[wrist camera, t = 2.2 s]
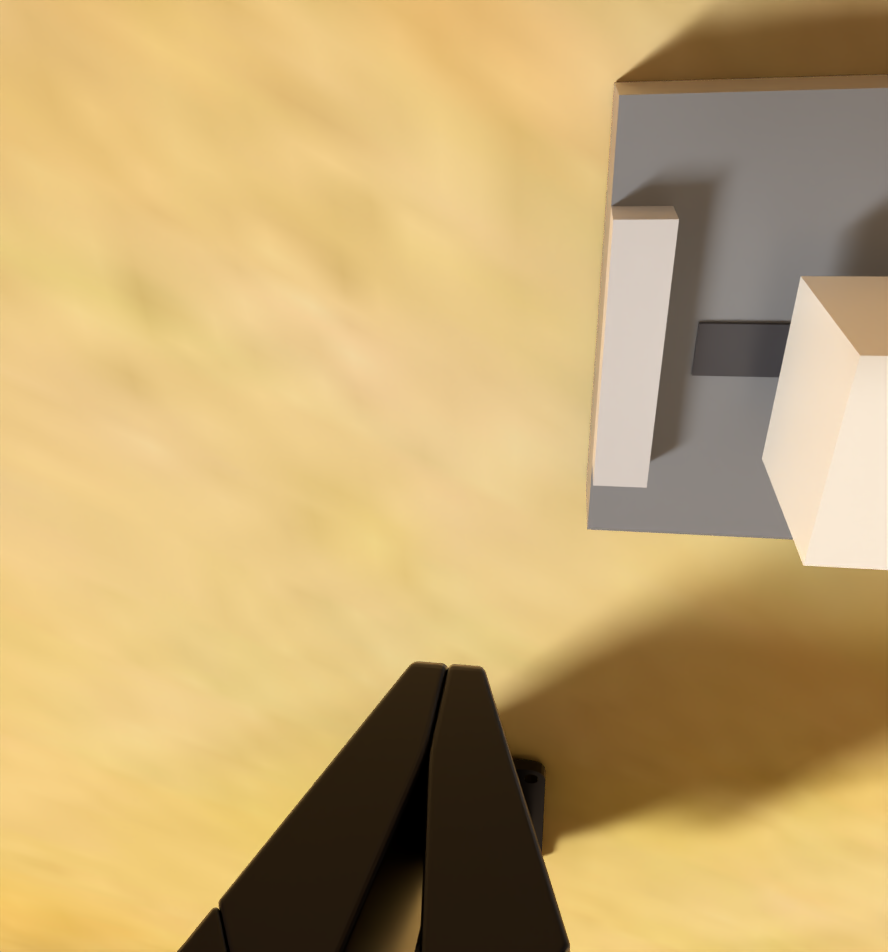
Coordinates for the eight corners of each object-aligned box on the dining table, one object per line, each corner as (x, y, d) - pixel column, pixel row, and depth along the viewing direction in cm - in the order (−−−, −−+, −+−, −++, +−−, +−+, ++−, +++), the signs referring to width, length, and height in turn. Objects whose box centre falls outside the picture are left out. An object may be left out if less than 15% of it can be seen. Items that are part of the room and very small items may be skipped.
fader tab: (898, 444, 17) (988, 575, 13) (754, 440, 17) (803, 565, 14) (956, 263, 15) (1083, 359, 11) (791, 262, 15) (859, 355, 11)
